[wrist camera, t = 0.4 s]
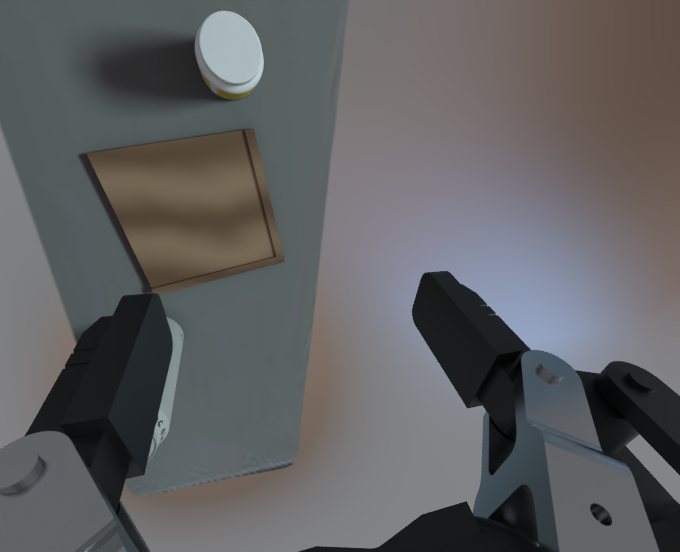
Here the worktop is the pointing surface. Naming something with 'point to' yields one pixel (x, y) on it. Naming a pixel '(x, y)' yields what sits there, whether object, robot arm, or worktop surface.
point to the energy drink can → (168, 389)
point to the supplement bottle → (229, 55)
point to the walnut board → (192, 207)
